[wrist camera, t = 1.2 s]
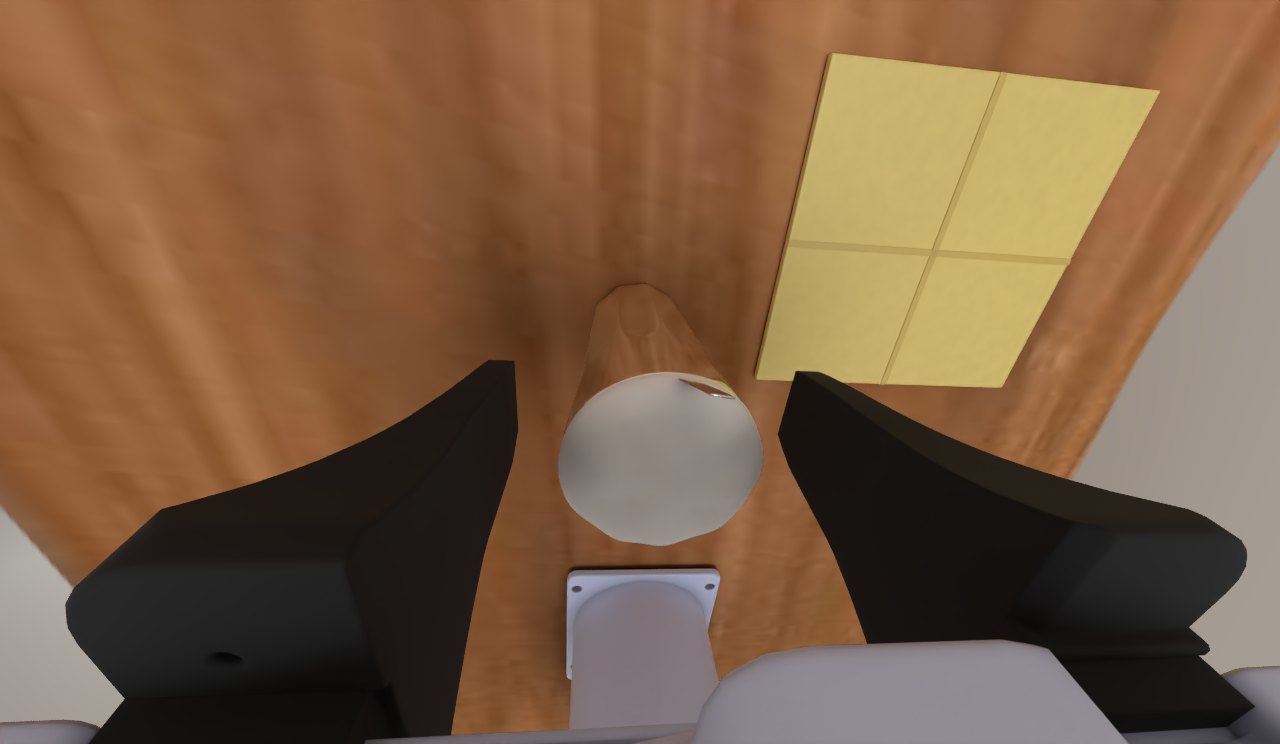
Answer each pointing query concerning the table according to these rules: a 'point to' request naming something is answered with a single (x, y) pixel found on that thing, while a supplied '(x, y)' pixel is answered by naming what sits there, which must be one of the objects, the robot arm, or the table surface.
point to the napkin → (937, 218)
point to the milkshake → (654, 428)
